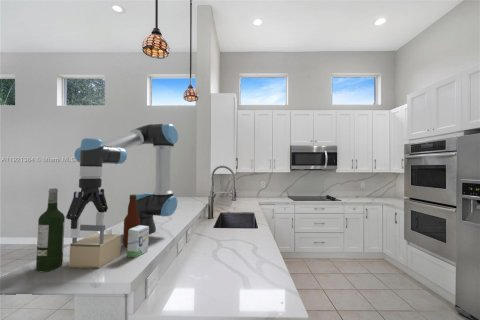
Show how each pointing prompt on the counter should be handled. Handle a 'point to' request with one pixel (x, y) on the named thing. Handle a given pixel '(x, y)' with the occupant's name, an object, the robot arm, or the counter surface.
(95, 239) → the flap
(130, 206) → the bottle
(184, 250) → the counter surface
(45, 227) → the wine bottle
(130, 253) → the ink box
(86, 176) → the robot arm
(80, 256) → the carton
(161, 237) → the counter surface
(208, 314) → the counter surface
